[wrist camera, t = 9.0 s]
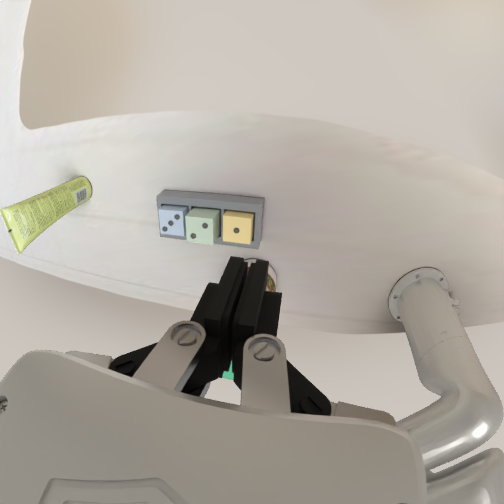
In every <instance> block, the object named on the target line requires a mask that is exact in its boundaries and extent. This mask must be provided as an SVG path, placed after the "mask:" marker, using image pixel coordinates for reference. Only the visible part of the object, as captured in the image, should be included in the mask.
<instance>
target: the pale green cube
mask: <svg viewBox="0 0 504 504" xmlns="http://www.w3.org/2000/svg"><path fill="white" fill-rule="evenodd" d="M185 219H186V237H187V242H193V243H201V244H209V245H214V243H215V241H216V240H217V238H218V236H219V235H220V210H219V209H209V208H198V207H194V208H193V209H192V210H191V211H190V212H189V213H188V214H187V215H186V216H185Z"/></svg>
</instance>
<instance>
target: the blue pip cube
mask: <svg viewBox="0 0 504 504" xmlns="http://www.w3.org/2000/svg"><path fill="white" fill-rule="evenodd" d="M158 212H159V223H160V233H161V234H169V235H177V236H185V235H186V219H185V216H186V215H187V214H188V213H189V206H185V205H174V204H164V205H163V206H162V207H161V208H159V209H158Z"/></svg>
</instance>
